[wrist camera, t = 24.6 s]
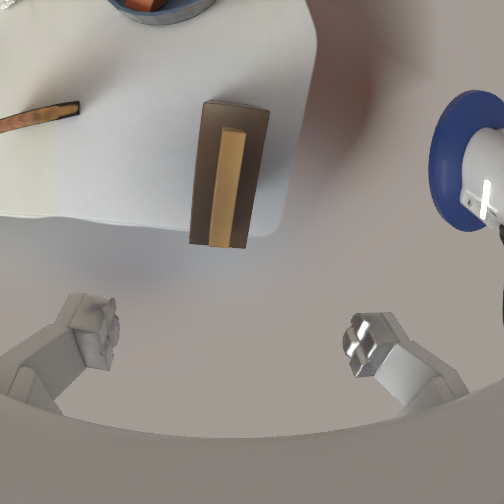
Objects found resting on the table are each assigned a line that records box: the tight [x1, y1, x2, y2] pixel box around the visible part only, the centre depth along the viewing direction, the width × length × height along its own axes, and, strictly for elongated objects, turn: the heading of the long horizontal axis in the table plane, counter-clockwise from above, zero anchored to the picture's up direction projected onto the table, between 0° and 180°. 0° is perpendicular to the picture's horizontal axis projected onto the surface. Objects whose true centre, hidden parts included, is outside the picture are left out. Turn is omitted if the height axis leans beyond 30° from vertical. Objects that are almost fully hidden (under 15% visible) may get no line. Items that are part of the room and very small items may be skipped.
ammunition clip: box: [0, 101, 79, 133], centre depth 22 cm, size 11×2×12 cm, turn 86°
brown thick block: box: [189, 100, 270, 249], centre depth 28 cm, size 5×12×13 cm, turn 171°
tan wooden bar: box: [209, 127, 246, 248], centre depth 22 cm, size 2×9×2 cm, turn 170°
